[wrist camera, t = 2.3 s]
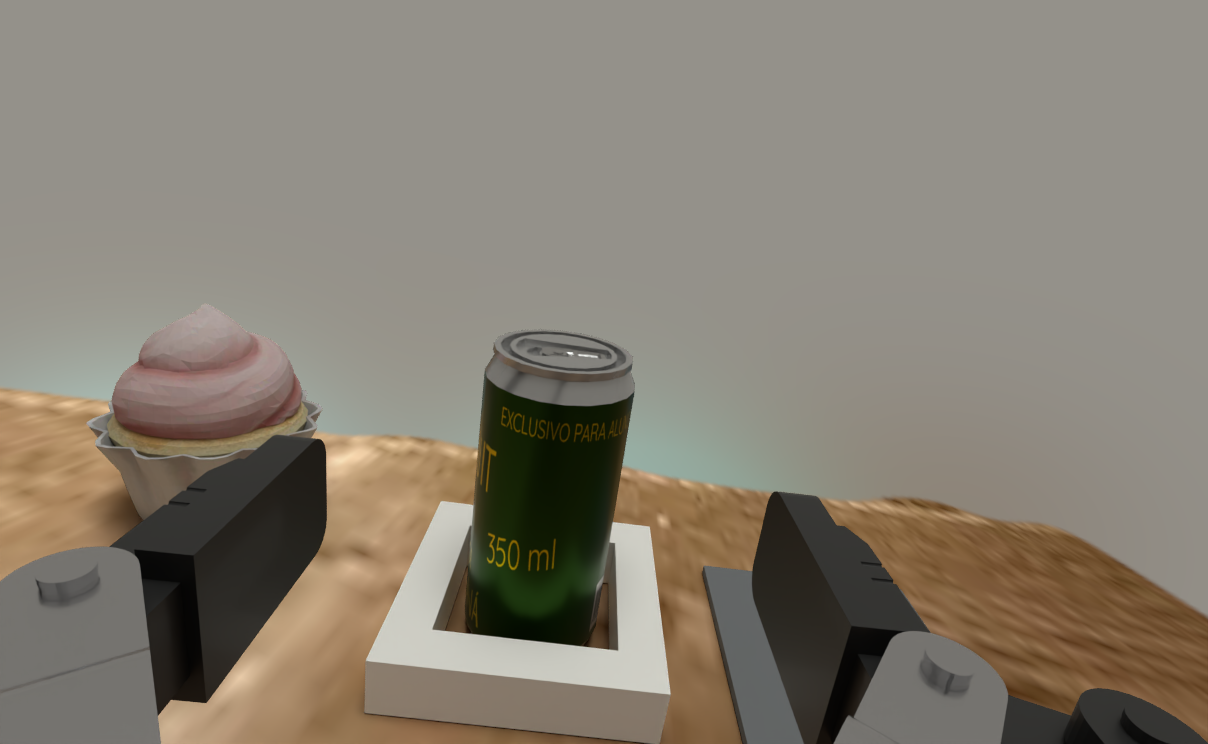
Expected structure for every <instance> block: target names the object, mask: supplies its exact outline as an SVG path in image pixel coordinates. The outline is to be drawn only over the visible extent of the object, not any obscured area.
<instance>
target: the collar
mask: <svg viewBox="0 0 1208 744" xmlns="http://www.w3.org/2000/svg"><path fill="white" fill-rule="evenodd" d="M472 517H473V505H468V504H460V503H452V502H444V501H441V503H440V505H439V507H438V509H437V511H436V513H435V515H434V517H433V520H432V522H431V524H430V526H429V528H428V530H427V532H426V534H425V536H424V539H423V541H422V543H421V545H420V547H419V549H418V551H417V553H416V556H415V558H414V560H413V562H412V564H411V566H410V568H409V570H408V572H407V575H406V577H405V579H404V581H403V583H402V585H401V587H400V589H399V592H398V594H397V596H396V598H395V600H394V602H393V604H392V606H391V608H390V611H389V613H388V615H387V617H386V619H385V621H384V623H383V625H382V628H381V630H380V632H379V634H378V636H377V638H376V640H375V642H374V644H373V647H372V649H371V651H370V653H369V655H368V657H367V659H366V671H365V711H364V713H370V714H379V715H389V716H398V717H407V718H417V719H426V720H435V721H445V722H454V723H463V724H473V725H482V726H491V727H501V728H510V729H519V730H529V731H538V732H547V733H557V734H566V735H576V736H585V737H594V738H604V739H613V740H622V741H632V742H641V743H650V744H660V739H661V735H662V730H663V726H664V721H665V717H666V713H667V708H668V704H669V699H670V695H671V694H670V686H669V678H668V670H667V662H666V654H665V646H664V638H663V630H662V622H661V614H660V606H659V598H658V590H657V582H656V574H655V566H654V558H653V550H652V542H651V534H650V527H647V526H639V525H631V524H623V523H615V522H613V524H612V530H611V536H610V542H609V548H608V554H607V560H606V566H605V572H604V578H603V583H608V597H609V650H608V649H599V648H590V647H581V646H572V645H564V644H555V643H546V642H537V641H528V640H519V639H511V638H502V637H493V636H484V635H475V634H467V633H458V632H449V631H445V629H446V626H447V623H448V620H449V617H450V614H451V611H452V608H453V605H454V602H455V599H456V596H457V593H458V590H459V587H460V584H461V581H462V578H463V575H464V572H465V569H466V566H467V567H468V564H469V552H470V541H471V529H472Z"/></svg>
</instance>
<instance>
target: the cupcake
mask: <svg viewBox="0 0 1208 744" xmlns="http://www.w3.org/2000/svg"><path fill="white" fill-rule="evenodd" d="M306 396H307V391H306V390H302V389H301V386H300V382H299V380H298V378H297V377H296V375H295V374H294V371H293V368H292V365H291V363H290V361H289V359H288V357H287V355H286V354H285V352H284V351H283V350H282V349H281V347H280V346H278V345H277V344H276V343H275V342H273V341H272V340H271V339H269V338H266V337H263V336H260V335H258V334H254V333H251V332H246V331H245V330H244V329H243V328H242V327H241V326H240V325H239V324H238V323H237V322H235V321H234V320H232V319H231V318H230V317H228V316H227V315H225V314H223V313H222V312H220V311H218V310H217V309H215V308H214V307H212V306H210V305H208V304H203V305H202V306H201V307H200V308H199V309H197V310H196V311H195V312H193V313H191V314H190V315H188V316H186V317H184V318H181V319H179V320H177V321H175V322H173V323H171V324H169V325H167V326H166V327H164V328H162V329H160V330H158V331H156V332H155V333H153V334H152V335H151V336H150V337H149V338H148V339H147V341H146V342H145V343H144V345H143V347H142V349H141V351H140V354H139V361H138V362H137V363H135V364H134V365H132V366H131V367H129V368H128V369H127V370H126V371H125V372H124V373H123V374H122V375H121V377H120V378H119V380H118V382H117V383H116V386H115V389H114V393H113V396H112V401H110V402H109V404H108V405H109V409H110V412H109V413H106V414H104V415H101V416H98V417H96V418H93V419H91V420H90V421H88V422H87V423H86V424H87V425H88V426H89V427H90V429H91V430H92V431H93V432H94V433H95V435H96V436H97V437H98V439H97V440H96V441H95V443H96V447H97V448H98V449H99V450H100V451H101V452H102V453H103V454H104V455H105V456H106V457H107V458H108V459H109V461H110V462H111V463H112V464H113V465H114V466H115V467H116V468H117V469H118V470H119V471H120V473H121V475H122V478H123V480H124V483H125V485H126V488H127V490H128V492H129V495H130V497H131V499H132V501H133V504H134V506H135V508H136V510H137V512H138V514H139V516H140V517H141V518H142V519H143V520H145V519H146V518H147V517H149V516H150V515H151V514H153V513H154V512H155V511H156V510H158V509H159V508H160V507H162V506H163V505H168V503H169V500H171V499H172V498H173V497H175V496H176V495H177V494H179V493H180V492H181V491H182V490H183V491H186V489H187V487H188V486H189V485H190V484H191V483H193V482H194V481H195V480H197V479H198V478H199V477H201V476H202V475H203V474H204V473H206V472H207V471H209V470H211V469H214V468H216V467H218V466H221V465H223V464H226V463H228V462H230V461H233V460H235V459H238V458H241V459H245V458H246V457H248V456H249V455H250V454H251V453H252V452H254V451H255V450H256V449H257V448H259V447H260V446H261V445H262V444H263V443H265V442H266V441H267V440H268V439H270V438H271V437H272V436H274V435H287V436H295V437H304V438H311V437H312V435H313V434H314V432H315V431H316V429H317V424H316V423H315V422H316V420H317V418H318V416H319V415H320V412H321V411H322V407H321V406H320V405H319V404H317V403H313V402H310V401H306Z"/></svg>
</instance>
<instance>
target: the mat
mask: <svg viewBox="0 0 1208 744" xmlns="http://www.w3.org/2000/svg"><path fill="white" fill-rule="evenodd" d="M702 573H703V578H704V582H705V586H706V590H707V594H708V599H709V603H710V607H711V611H712V615H713V620H714V624H715V628H716V632H717V636H718V641H719V645H720V649H721V653H722V658H723V662H724V666H725V670H726V674H727V679H728V683H729V687H730V691H731V695H732V700H733V704H734V708H735V712H736V716H737V721H738V725H739V729H740V733H741V737H742V742H743V744H804V743H803V740H802V737H801V734H800V731H799V728H798V725H797V723H796V720H795V717H794V714H793V711H792V708H791V705H790V703H789V700H788V697H787V694H786V691H785V688H784V685H783V683H782V680H781V677H780V674H779V671H778V668H777V665H776V663H775V660H774V657H773V654H772V651H771V648H770V645H769V643H768V640H767V637H766V634H765V631H764V628H763V625H762V623H761V620H760V617H759V614H758V611H757V608H756V606H755V603H754V599H753V593H752V571H744V570H736V569H728V568H720V567H711V566H704V567H703V571H702ZM900 590H901V589H900ZM901 592H902V591H901ZM902 593H903V592H902ZM903 595H904V593H903ZM904 596H905V595H904ZM905 598H906V596H905ZM906 599H907V598H906ZM907 600H908V599H907ZM908 602H909V601H908ZM909 603H910V602H909ZM910 605H911V604H910ZM911 606H912V605H911ZM913 609H914V608H913ZM914 610H915V609H914ZM915 612H916V611H915ZM916 613H917V612H916ZM917 615H918V614H917ZM918 616H919V615H918ZM920 619H921V618H920ZM922 622H923V621H922ZM924 625H925V624H924ZM925 626H926V625H925ZM927 629H928V628H927ZM929 632H930V631H929Z"/></svg>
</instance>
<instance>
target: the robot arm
mask: <svg viewBox="0 0 1208 744" xmlns="http://www.w3.org/2000/svg"><path fill="white" fill-rule="evenodd" d="M326 521H327V493H326V449H325V445H324V443H323V441H322V440H320V439H313V438H304V437H295V436H287V435H274V436H272V437H271V438H270V439H268V440H267V441H266V442H265V443H263V444H262V445H261V446H260V447H259V448H257V449H256V450H255V451H254V452H252V453H251V454H250V455H249V456H248V457H246V458H245V459H241V458H238V459H235V460H233V461H230V462H228V463H226V464H223V465H221V466H218V467H216V468H214V469H211V470H209V471H207V472H206V473H204V474H203V475H202V476H201V477H199V478H198V479H197V480H195V481H194V482H193V483H191V484H190V485H189V486H188V487H187V489H186V491H183V490H182V491H181V492H180V493H179V494H177V495H176V496H175V497H173V498H172V499H171V500H169V503H168V505H163V506H162V507H160V508H159V509H158V510H156V511H155V512H154V513H153V514H151V515H150V516H149V517H147V518H146V519H145V520H143V521H142V522H141V523H140V524H138V525H137V526H136V527H134V528H133V529H132V530H130V531H129V532H128V533H127V534H125V535H124V536H123V537H121V538H120V539H119V540H118V541H116V542H115V543H114V544H112V545H111V546H110V547H86V548H79V549H73V550H68V551H63V552H59V553H56V554H52V555H49V556H46V557H43V558H40V559H38V560H35V561H33V562H31V563H29V564H26V565H24V566H22V567H20V568H19V569H17V570H15V571H14V572H12V573H11V574H9V575H8V576H6V577H5V578H4V579H3V580H1V581H0V744H161V740H160V731H159V723H158V715H159V714H160V713H161V711H162V710H163V709H164V708H165V706H166V705H167V704H168V703H169V702H170V700H179V701H190V702H201V703H207V702H208V700H209V699H210V698H211V696H212V695H213V693H214V692H215V691H216V689H217V688H218V687H219V685H220V684H221V683H222V681H223V680H224V679H225V677H226V676H227V675H228V673H229V672H230V670H231V669H232V668H233V666H234V665H235V664H236V662H237V661H238V660H239V658H240V657H241V656H242V654H243V653H244V651H245V650H246V649H247V647H248V646H249V645H250V643H251V642H252V641H253V639H254V638H255V637H256V635H257V634H258V633H259V631H260V630H261V628H262V627H263V626H264V624H265V623H266V622H267V620H268V619H269V618H270V616H271V615H272V614H273V612H274V611H275V609H276V608H277V607H278V605H279V604H280V603H281V601H282V600H283V599H284V597H285V596H286V595H287V593H288V592H289V591H290V589H291V588H292V586H293V585H294V584H295V582H296V581H297V580H298V578H299V577H300V576H301V574H302V573H303V572H304V570H305V569H306V567H307V566H308V565H309V563H310V562H311V561H312V559H313V558H314V557H315V555H316V554H317V552H318V550H319V548H320V546H321V543H322V541H323V537H324V534H325V529H326ZM881 565H882V564H881V562H880V561H879V559H878V558H877V556H876V555H875V554H874V552H873V551H872V549H871V548H870V547H869V545H868V544H867V543H866V542H864V541H863V540H862V539H860V538H859V537H858V536H857V535H855V534H854V533H853V532H851V531H850V530H849V529H847V528H846V527H845V526H837V525H836V524H835V522H834V521H833V519H832V518H831V516H830V515H829V513H828V512H827V510H826V509H825V507H824V506H823V504H822V502H821V501H820V499H819V498H818V497H816V496H811V495H802V494H794V493H785V492H773V493H772V495H771V496H770V498H769V501H768V504H767V508H766V513H765V517H764V521H763V526H762V530H761V534H760V538H759V543H758V547H757V551H756V556H755V560H754V564H753V571H752V593H753V599H754V603H755V606H756V608H757V611H758V614H759V617H760V620H761V623H762V625H763V628H764V631H765V634H766V637H767V640H768V643H769V645H770V648H771V651H772V654H773V657H774V660H775V663H776V665H777V668H778V671H779V674H780V677H781V680H782V683H783V685H784V688H785V691H786V694H787V697H788V700H789V703H790V705H791V708H792V711H793V714H794V717H795V720H796V723H797V725H798V728H799V731H800V734H801V737H802V740H803V743H804V744H1208V743H1207V742H1206V741H1205V740H1204V739H1203V738H1202V737H1201V736H1200V735H1199V734H1197V733H1196V732H1195V731H1194V730H1192V729H1191V728H1190V727H1189V726H1187V725H1186V724H1184V723H1183V722H1182V721H1180V720H1179V719H1177V718H1176V717H1174V716H1172V715H1171V714H1169V713H1168V712H1166V711H1164V710H1162V709H1161V708H1159V707H1157V706H1155V705H1153V704H1151V703H1149V702H1147V701H1144V700H1142V699H1140V698H1137V697H1135V696H1132V695H1129V694H1126V693H1123V692H1119V691H1115V690H1110V689H1101V688H1097V689H1090V690H1087V691H1085V692H1084V693H1082V694H1081V696H1080V698H1079V700H1078V702H1077V704H1076V707H1075V709H1074V711H1073V713H1072V715H1071V716H1070V715H1067V714H1064V713H1061V712H1058V711H1055V710H1052V709H1049V708H1046V707H1043V706H1040V705H1037V704H1033V703H1030V702H1027V701H1024V700H1021V699H1018V698H1015V697H1013V696H1010V695H1008V692H1007V689H1006V686H1005V684H1004V682H1003V680H1002V679H1001V678H1000V676H999V675H998V673H997V672H996V671H995V670H994V669H993V668H992V667H991V666H990V665H989V664H988V663H987V662H986V661H985V660H983V659H982V658H981V657H979V656H978V655H977V654H975V653H974V652H972V651H971V650H969V649H968V648H966V647H964V646H962V645H960V644H958V643H957V642H955V641H952V640H950V639H947V638H945V637H942V636H939V635H936V634H932V633H930V632H929V630H928V629H927V627H926V626H925V625H924V623H923V622H922V620H921V619H920V617H919V616H918V615H917V613H916V612H915V610H914V609H913V607H912V606H911V605H910V603H909V602H908V600H907V599H906V598H905V596H904V595H903V593H902V592H901V590H900V589H899V588H898V586H897V585H896V584H893V579H892V578H891V576H890V575H889V573H888V572H887V571H886V569H885V568H882V566H881Z"/></svg>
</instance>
